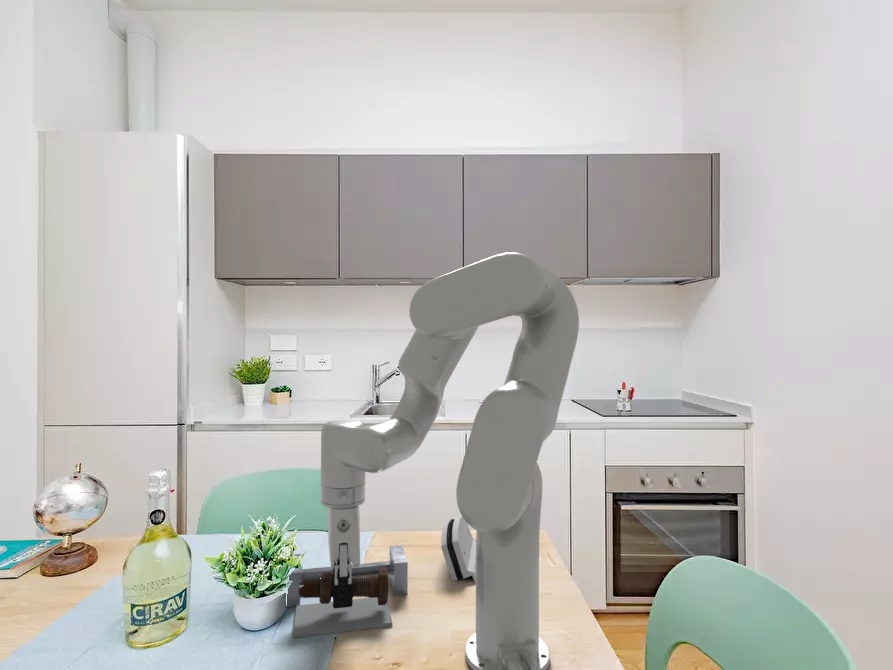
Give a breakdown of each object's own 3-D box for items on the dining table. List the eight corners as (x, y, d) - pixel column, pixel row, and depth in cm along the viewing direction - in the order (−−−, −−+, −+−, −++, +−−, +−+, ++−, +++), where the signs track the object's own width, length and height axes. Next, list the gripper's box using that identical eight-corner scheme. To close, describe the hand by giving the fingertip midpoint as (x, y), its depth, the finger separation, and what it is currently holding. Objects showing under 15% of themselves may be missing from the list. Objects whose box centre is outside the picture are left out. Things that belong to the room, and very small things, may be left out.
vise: (407, 593, 97) (407, 562, 97) (285, 607, 92) (285, 573, 92) (399, 567, 108) (399, 538, 108) (290, 577, 103) (290, 548, 103)
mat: (392, 626, 87) (392, 622, 87) (292, 638, 83) (292, 634, 83) (386, 598, 95) (386, 595, 95) (296, 608, 92) (296, 605, 92)
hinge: (476, 582, 102) (459, 534, 102) (454, 589, 102) (437, 541, 102) (481, 547, 118) (466, 505, 119) (462, 553, 119) (447, 512, 119)
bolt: (298, 609, 89) (386, 606, 91) (296, 605, 84) (388, 603, 87) (301, 572, 92) (386, 570, 94) (300, 567, 88) (389, 565, 90)
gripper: (368, 508, 82) (367, 623, 82) (362, 478, 98) (361, 573, 98) (319, 511, 80) (318, 628, 80) (321, 480, 97) (321, 577, 97)
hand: (342, 597), depth 89 cm, fingers closed on bolt, 5 cm apart
